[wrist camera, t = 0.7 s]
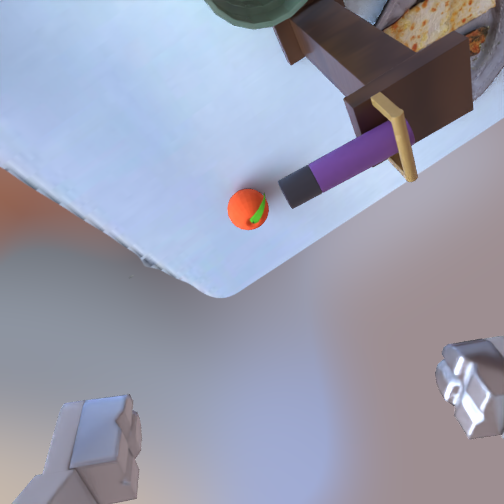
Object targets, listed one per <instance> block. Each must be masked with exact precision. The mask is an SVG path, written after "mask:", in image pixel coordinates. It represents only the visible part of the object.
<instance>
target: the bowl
mask: <svg viewBox="0 0 504 504" xmlns="http://www.w3.org/2000/svg"><path fill="white" fill-rule="evenodd" d="M204 1H205V2H206V3H207V5H208V6H209V7H210V8H211V9H212V11H213V12H214V13H215V14H216V15H218V16H219V17H221V18H222V19H224V20H226V21H227V22H229V23H230V24H232V25H234V26H239V27H243V28H248V29H261V28H267V27H273V26H275V25H277V24H279V23H281V22H283V21H284V20H286V19H288V18H290V17H292V16H293V15H294V14H295V13H296V12H297V11H298V10H299V9H300V8H301V7H302V6H303V5H304V4H305V3H306V2H307V1H308V0H204Z"/></svg>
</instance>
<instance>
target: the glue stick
mask: <svg viewBox="0 0 504 504" xmlns="http://www.w3.org/2000/svg"><path fill="white" fill-rule="evenodd" d="M405 120H406V119H405ZM406 125H407V129H408V134H409V138H410V143H411V146H412V145H414V143H415V138H414V134H413V131H412V129H411V127H410V125H409V123H408V121H407V120H406ZM397 153H399V151H398V147H397V143H396V139H395V135H394V131H393V127H392V123H391V122H390V121H389V120H388V121H386V122H384V123H382V124H381V125H379V126H377V127H375V128H373V129H371V130H370V131H368V132H366V133H364V134H362V135H361V136H359V137H357V138H355V139H353V140H352V141H350V142H348V143H346V144H344V145H343V146H341V147H339V148H337V149H335V150H333V151H332V152H330V153H328V154H326V155H324V156H323V157H321V158H319V159H317V160H315V161H314V162H312V163H310V164H309V165H306V166H305V167H303V168H301V169H299V170H297V171H295V172H294V173H292V174H290V175H288V176H286V177H285V178H283V179H281V180H279V181H278V183H279V186H280V188H281V190H282V192H283V194H284V196H285V198H286V200H287V202H288V203H289V205H290V207H291V208H292V209H293V208H295V207H297V206H299V205H301V204H303V203H305V202H307V201H308V200H310V199H312V198H314V197H316V196H318V195H320V194H322V192H325V191H327V190H329V189H331V188H333V187H335V186H337V185H338V184H340V183H342V182H344V181H346V180H348V179H350V178H352V177H354V176H355V175H357V174H359V173H361V172H363V171H365V170H367V169H369V168H370V167H372V166H374V165H376V164H378V163H380V162H382V161H384V160H385V159H387V158H389V157H391V156H393V155H395V154H397Z"/></svg>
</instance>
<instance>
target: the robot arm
mask: <svg viewBox="0 0 504 504" xmlns="http://www.w3.org/2000/svg"><path fill="white" fill-rule="evenodd" d="M442 355H443V357H444V358H445V359H444V360H442V361H441V362H440V363H439V364H438V365H437V368H436V372H435V376H436V383H437V386H438V388H439V391H440V393H441V394H442V396H443V398H444V399H445V400H446V401H447V402H449V403H450V404H452V405H453V406H455V414H454V415H455V417H456V419H457V421H458V422H459V424H460V425H461V427H462V429H463V430H464V432H465V433H466V435H467V437H468V438H469V439H476V438H483V437H490V436H496V435H502V436H501V437H502V438H503V439H504V336H497V337H492V338H486V339H476V340H470V341H464V342H459V343H453V344H448V345H446V346H445V347H444V348H443V351H442ZM141 441H142V435H141V424H140V418H139V416H138V413H137V412H135V411H134V410H133V400H132V398H131V396H130V394H127V395H121V396H113V397H105V398H99V399H92V400H83V401H76V402H70V403H65V404H64V405H63V407H62V408H61V410H60V412H59V416H58V420H57V423H56V427H55V430H54V434H53V437H52V441H51V445H50V448H49V452H48V456H47V459H46V463H45V467H44V470H43V474H41V475H36V476H35V477H34V478H33V479H32V480H31V481H30V483H29V484H28V485H27V486H26V487H25V489H24V490H23V491H22V492H21V493H20V494H19V496H18V497H17V498H16V499H15V500H14V502H13V503H12V504H113V503H118V502H123V501H128V500H132V499H137V489H138V478H139V468H138V465H137V463H136V461H135V458H136V457H137V456H138V454H139V453H140V451H141Z"/></svg>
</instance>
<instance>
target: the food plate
mask: <svg viewBox="0 0 504 504" xmlns="http://www.w3.org/2000/svg"><path fill="white" fill-rule="evenodd" d="M374 26H375V27H377V28H378V29H380V30H381V31H383V32H384V33H386V34H388V35H389V36H391V37H392V38H394V39H395V40H397V41H399V42H400V43H402V44H403V45H405V46H407V47H408V48H410V49H411V50H413V51H414V52H416V53H418V52H420V51H421V50H423V49H424V48H426V47H428V46H429V45H431V44H433V43H434V42H436V41H437V40H439V39H441V38H442V37H444V36H445V35H447V34H449V33H450V32H452V31H456V32H458V33H460V34H462V35H464V36H466V37H468V38H469V46H470V63H471V80H472V97H473V101H474V100H476V99H477V98H478V97H479V96H481V95H482V94H483V93H484V91H485V90H486V89H487V88H488V87H489V85H491V83H492V82H493V80H494V79H495V77H497V75H498V74H499V72H500V71H501V69H502V68H503V67H504V0H388V1H387V3H386V4H385V6H384V8H383V10H382V12H381V14H380V15H379V17H378V19H377V22H376V23H375V24H374Z"/></svg>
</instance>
